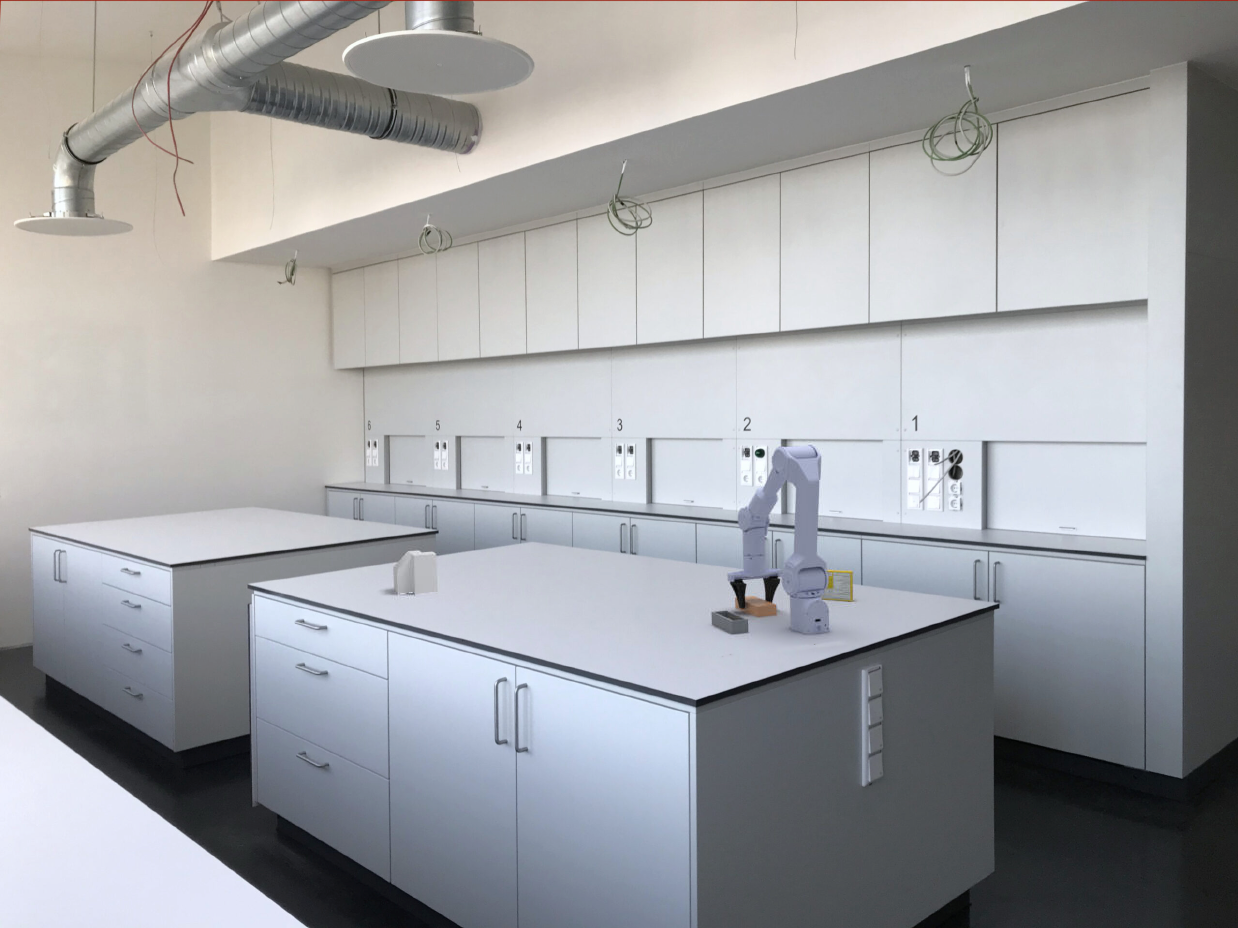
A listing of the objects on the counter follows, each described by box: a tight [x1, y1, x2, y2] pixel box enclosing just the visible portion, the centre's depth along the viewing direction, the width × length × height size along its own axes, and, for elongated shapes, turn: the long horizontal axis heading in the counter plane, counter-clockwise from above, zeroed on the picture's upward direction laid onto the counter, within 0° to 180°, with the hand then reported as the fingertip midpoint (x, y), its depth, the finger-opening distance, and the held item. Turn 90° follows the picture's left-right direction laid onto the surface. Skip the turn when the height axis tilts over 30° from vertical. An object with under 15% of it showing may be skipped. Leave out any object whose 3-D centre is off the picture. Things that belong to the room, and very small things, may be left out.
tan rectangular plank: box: [734, 595, 778, 618], centre depth 246 cm, size 13×5×4 cm, turn 19°
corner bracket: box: [392, 549, 439, 595], centre depth 292 cm, size 11×11×12 cm
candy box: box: [821, 569, 854, 603], centre depth 264 cm, size 16×2×8 cm, turn 59°
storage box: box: [711, 609, 749, 635], centre depth 228 cm, size 11×4×4 cm, turn 19°
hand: (755, 606), depth 246 cm, fingers open, 7 cm apart
